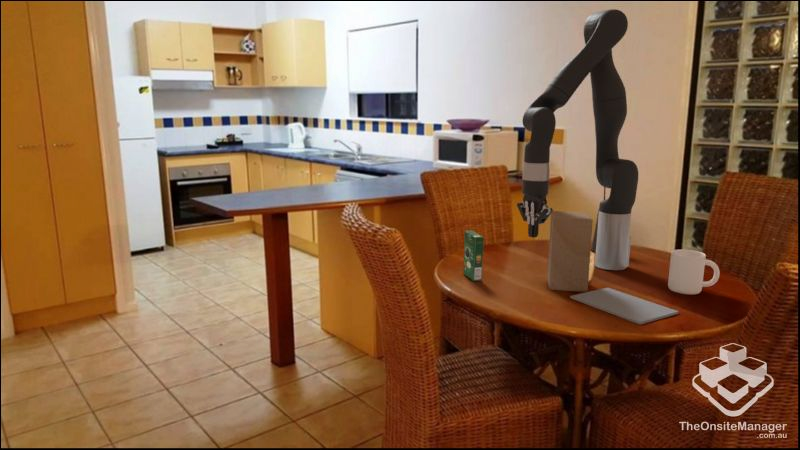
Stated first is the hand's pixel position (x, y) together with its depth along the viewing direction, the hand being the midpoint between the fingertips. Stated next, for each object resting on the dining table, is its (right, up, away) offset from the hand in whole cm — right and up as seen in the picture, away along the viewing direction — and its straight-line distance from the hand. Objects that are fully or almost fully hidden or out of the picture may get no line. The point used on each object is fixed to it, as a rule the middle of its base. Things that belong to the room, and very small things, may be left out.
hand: (532, 236), depth 168 cm
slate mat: (+16, -17, -26) cm, 35 cm away
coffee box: (-18, -12, -3) cm, 22 cm away
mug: (+40, -14, -14) cm, 44 cm away
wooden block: (+7, -13, -10) cm, 18 cm away
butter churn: (+29, -6, +27) cm, 40 cm away
